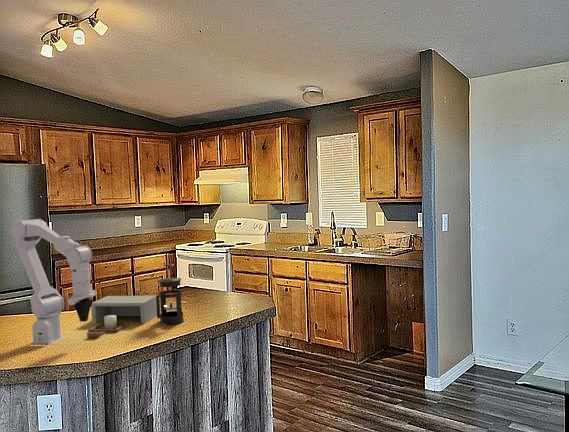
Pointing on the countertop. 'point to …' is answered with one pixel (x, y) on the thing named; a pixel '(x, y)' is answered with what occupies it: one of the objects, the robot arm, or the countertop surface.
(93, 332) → the tray
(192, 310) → the countertop surface
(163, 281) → the french press
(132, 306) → the large grey box
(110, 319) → the cream rounded block
